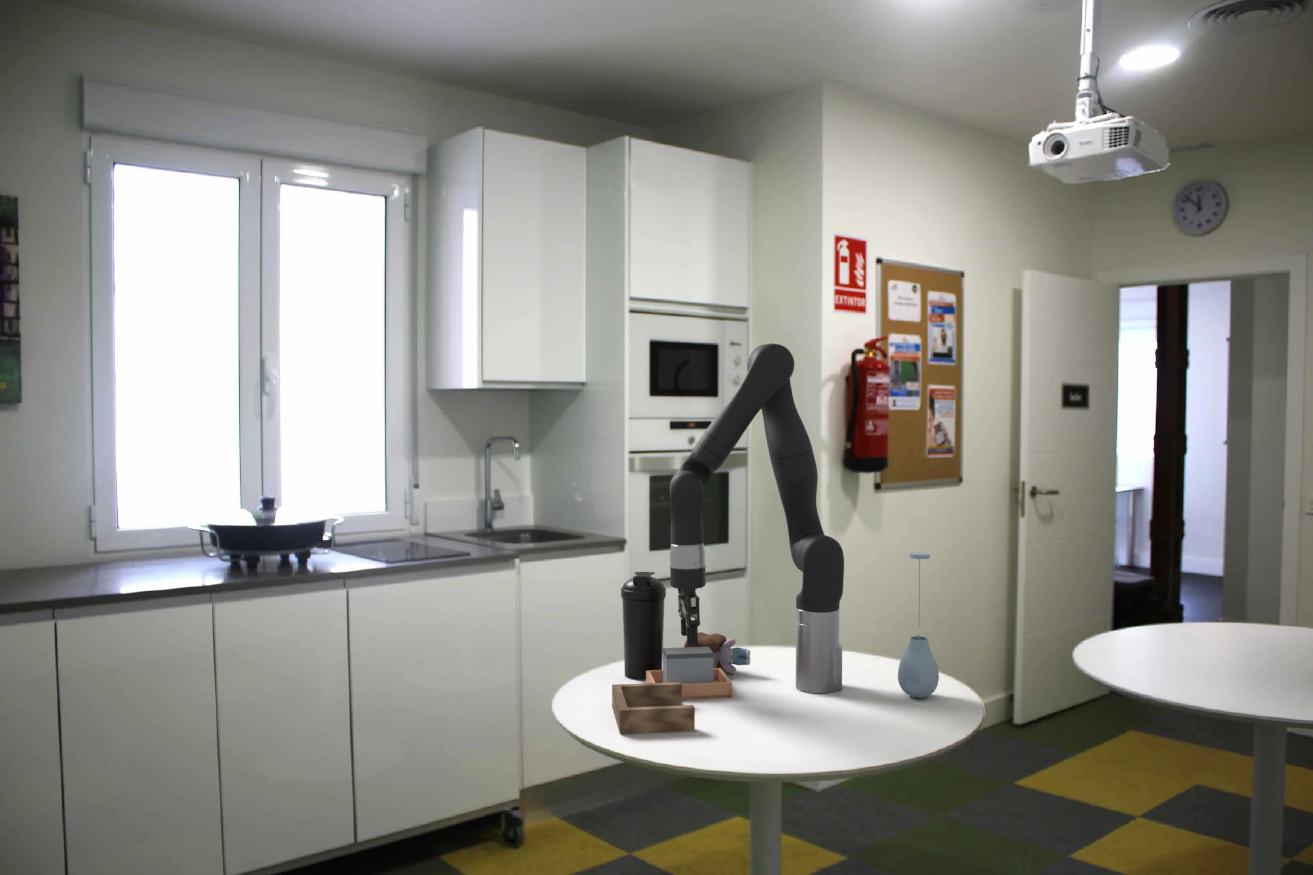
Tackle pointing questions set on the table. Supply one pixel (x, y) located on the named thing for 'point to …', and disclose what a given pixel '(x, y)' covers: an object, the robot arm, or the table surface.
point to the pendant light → (918, 660)
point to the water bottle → (643, 624)
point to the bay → (651, 708)
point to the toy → (723, 651)
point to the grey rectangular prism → (688, 665)
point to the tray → (699, 685)
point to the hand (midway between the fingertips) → (689, 639)
